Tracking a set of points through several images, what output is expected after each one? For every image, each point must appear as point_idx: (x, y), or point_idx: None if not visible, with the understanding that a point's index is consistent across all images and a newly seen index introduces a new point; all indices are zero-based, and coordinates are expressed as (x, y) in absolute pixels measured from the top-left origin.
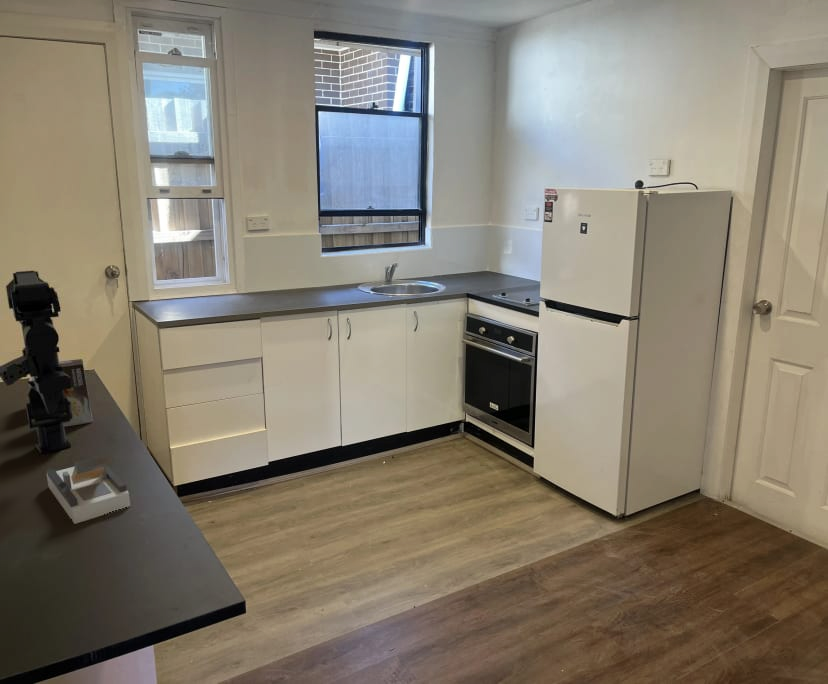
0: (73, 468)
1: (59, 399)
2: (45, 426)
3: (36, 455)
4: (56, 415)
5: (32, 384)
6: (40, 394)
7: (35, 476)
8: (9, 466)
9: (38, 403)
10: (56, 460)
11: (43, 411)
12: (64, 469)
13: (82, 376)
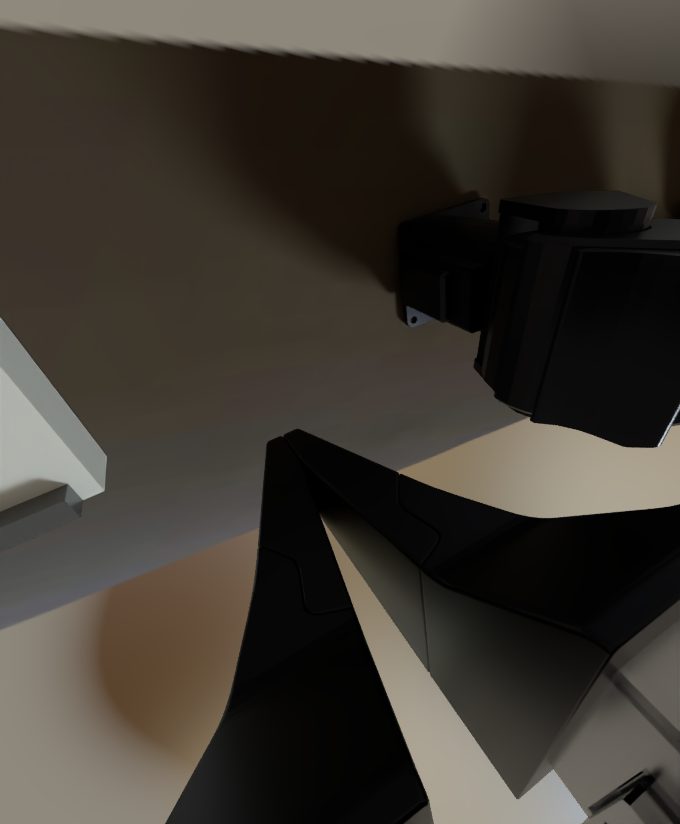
0: (9, 419)
1: (547, 409)
2: (482, 272)
3: (399, 203)
4: (487, 347)
5: (594, 666)
6: (414, 522)
7: (155, 204)
8: (339, 72)
9: (576, 299)
10: (310, 285)
11: (520, 304)
12: (4, 380)
13: None
